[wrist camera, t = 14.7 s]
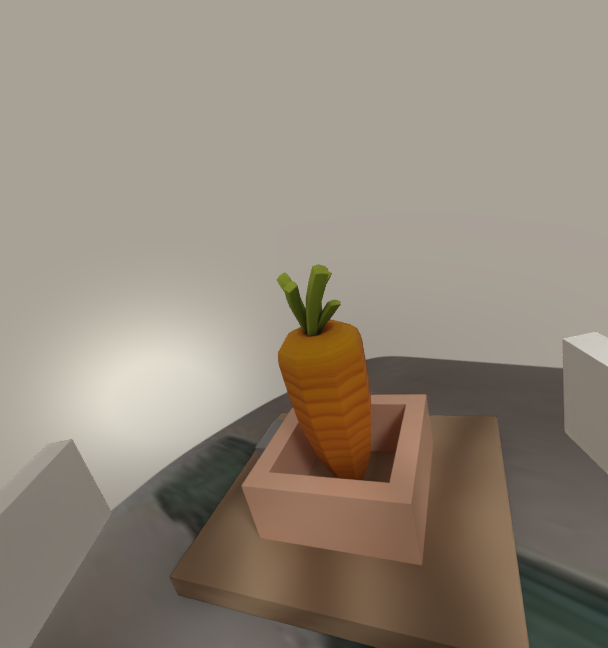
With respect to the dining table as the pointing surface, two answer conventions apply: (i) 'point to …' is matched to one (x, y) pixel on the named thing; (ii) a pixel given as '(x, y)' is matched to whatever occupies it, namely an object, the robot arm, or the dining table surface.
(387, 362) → the dining table surface
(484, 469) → the walnut board
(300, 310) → the carrot
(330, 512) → the pink square planter box
